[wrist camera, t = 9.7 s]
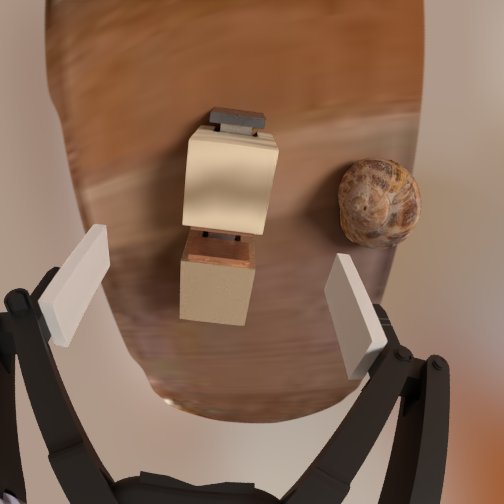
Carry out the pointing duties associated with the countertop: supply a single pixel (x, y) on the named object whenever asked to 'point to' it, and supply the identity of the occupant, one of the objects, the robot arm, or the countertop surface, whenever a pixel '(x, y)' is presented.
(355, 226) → the seashell
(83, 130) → the countertop surface
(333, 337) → the countertop surface
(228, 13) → the countertop surface
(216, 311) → the rail
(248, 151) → the slotted tan cube
